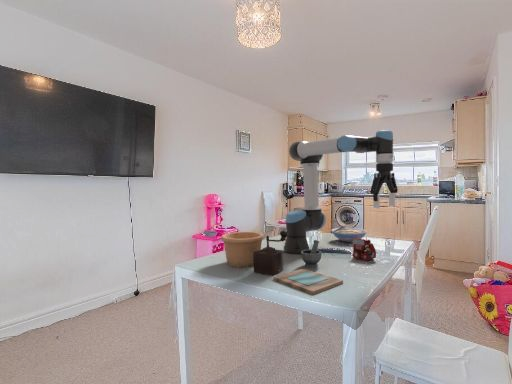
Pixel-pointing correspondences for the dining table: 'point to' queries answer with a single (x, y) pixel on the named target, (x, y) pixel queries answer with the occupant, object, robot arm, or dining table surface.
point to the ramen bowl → (348, 233)
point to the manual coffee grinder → (269, 258)
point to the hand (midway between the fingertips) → (384, 207)
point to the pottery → (241, 247)
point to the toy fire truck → (363, 249)
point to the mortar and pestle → (311, 256)
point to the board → (308, 281)
